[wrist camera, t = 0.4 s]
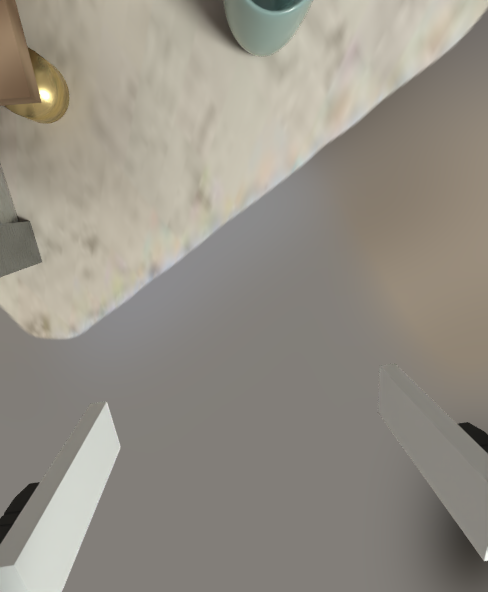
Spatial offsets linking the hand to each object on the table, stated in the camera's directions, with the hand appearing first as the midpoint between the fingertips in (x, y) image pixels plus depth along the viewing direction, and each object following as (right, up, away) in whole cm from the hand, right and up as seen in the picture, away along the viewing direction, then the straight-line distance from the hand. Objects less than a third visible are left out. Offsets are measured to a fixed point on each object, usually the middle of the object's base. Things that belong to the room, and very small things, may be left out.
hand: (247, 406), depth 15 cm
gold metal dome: (-22, +27, +18) cm, 39 cm away
